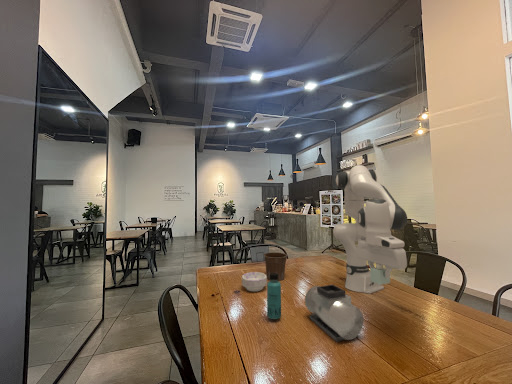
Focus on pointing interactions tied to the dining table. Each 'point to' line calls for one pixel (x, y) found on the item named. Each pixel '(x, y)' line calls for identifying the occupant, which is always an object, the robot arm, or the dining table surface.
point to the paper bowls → (254, 281)
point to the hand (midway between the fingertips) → (379, 274)
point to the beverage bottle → (274, 297)
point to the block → (378, 275)
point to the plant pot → (275, 264)
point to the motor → (334, 312)
